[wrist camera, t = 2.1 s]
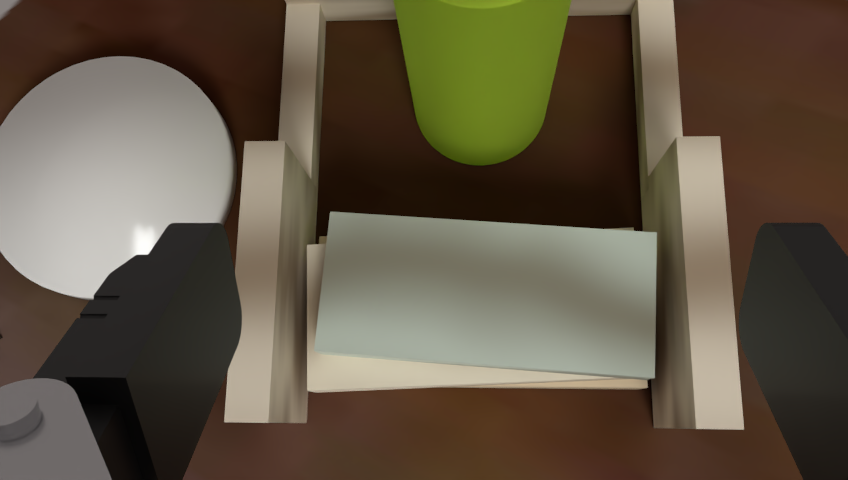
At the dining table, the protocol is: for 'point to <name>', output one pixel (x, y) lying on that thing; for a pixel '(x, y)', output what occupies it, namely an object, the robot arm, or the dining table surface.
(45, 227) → the ceramic trivet
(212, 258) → the robot arm
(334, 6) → the offcut rack
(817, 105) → the dining table surface
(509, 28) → the soap dispenser
